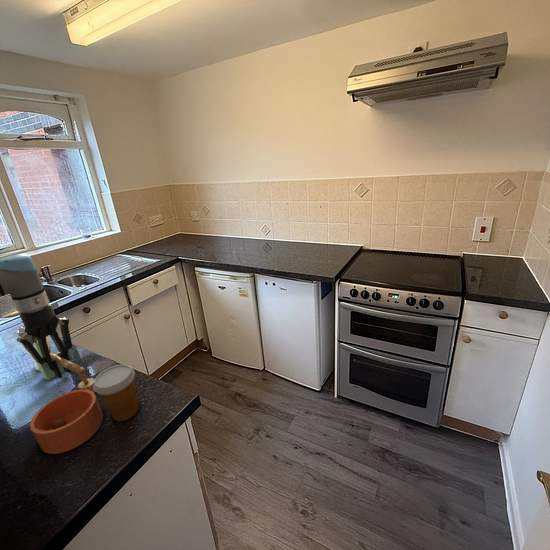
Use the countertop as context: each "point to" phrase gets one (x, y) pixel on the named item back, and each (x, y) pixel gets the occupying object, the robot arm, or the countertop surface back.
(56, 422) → the meatball
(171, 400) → the countertop surface
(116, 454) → the countertop surface
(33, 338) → the beer glass
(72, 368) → the ladle
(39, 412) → the bowl
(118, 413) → the disposable coffee cup
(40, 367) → the pale green box
